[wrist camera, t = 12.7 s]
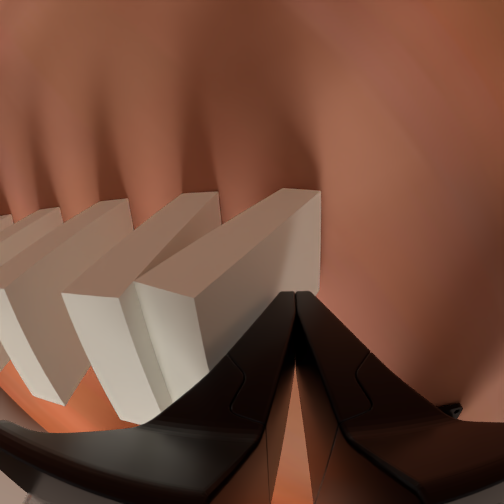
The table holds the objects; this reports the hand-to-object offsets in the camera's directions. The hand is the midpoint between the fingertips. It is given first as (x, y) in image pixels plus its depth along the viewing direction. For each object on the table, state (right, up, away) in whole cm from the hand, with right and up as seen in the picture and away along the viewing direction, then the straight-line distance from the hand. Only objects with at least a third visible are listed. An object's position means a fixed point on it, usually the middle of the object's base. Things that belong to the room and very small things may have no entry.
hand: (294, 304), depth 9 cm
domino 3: (-7, +2, +5) cm, 9 cm away
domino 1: (+1, +2, +4) cm, 5 cm away
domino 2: (-3, +2, +5) cm, 6 cm away
